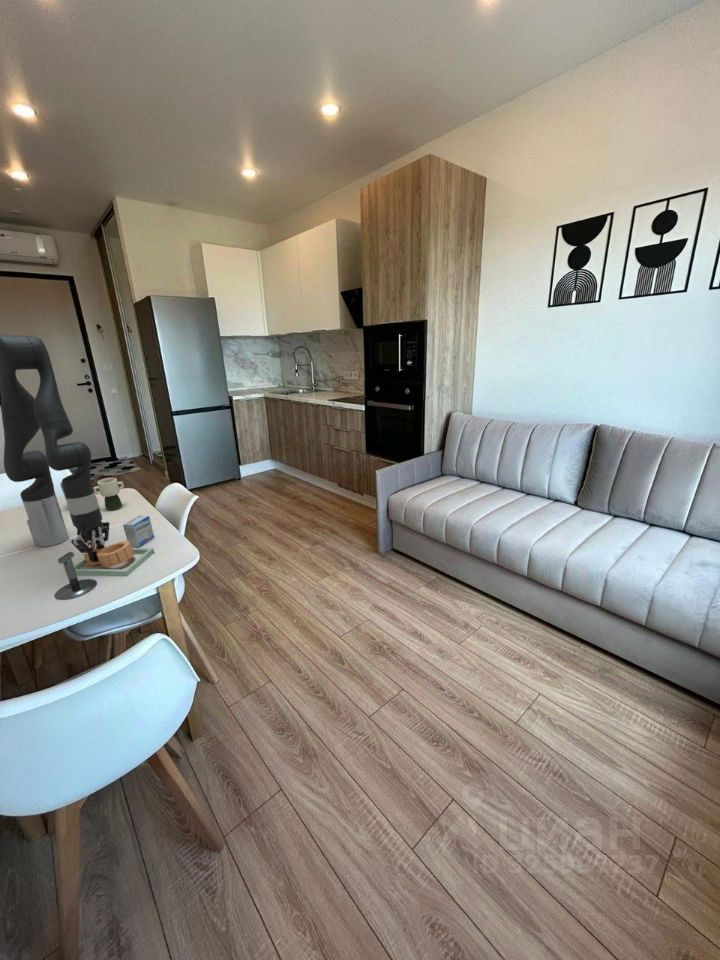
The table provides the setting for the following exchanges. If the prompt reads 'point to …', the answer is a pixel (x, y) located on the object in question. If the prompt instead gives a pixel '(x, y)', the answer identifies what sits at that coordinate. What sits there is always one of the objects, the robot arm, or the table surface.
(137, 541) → the medicine box
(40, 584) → the table surface
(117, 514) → the table surface
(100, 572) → the green rhombus frame
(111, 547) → the ring
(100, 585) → the table surface
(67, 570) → the metal post stand
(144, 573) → the table surface
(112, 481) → the character mug
